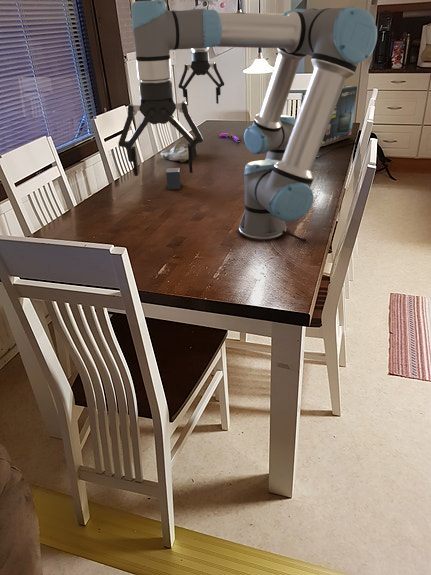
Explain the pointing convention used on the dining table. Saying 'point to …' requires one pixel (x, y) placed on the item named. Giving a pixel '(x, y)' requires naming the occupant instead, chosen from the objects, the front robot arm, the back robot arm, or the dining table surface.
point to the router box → (341, 115)
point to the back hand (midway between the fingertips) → (202, 104)
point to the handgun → (232, 138)
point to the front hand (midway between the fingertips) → (163, 172)
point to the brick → (173, 178)
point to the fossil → (177, 153)
